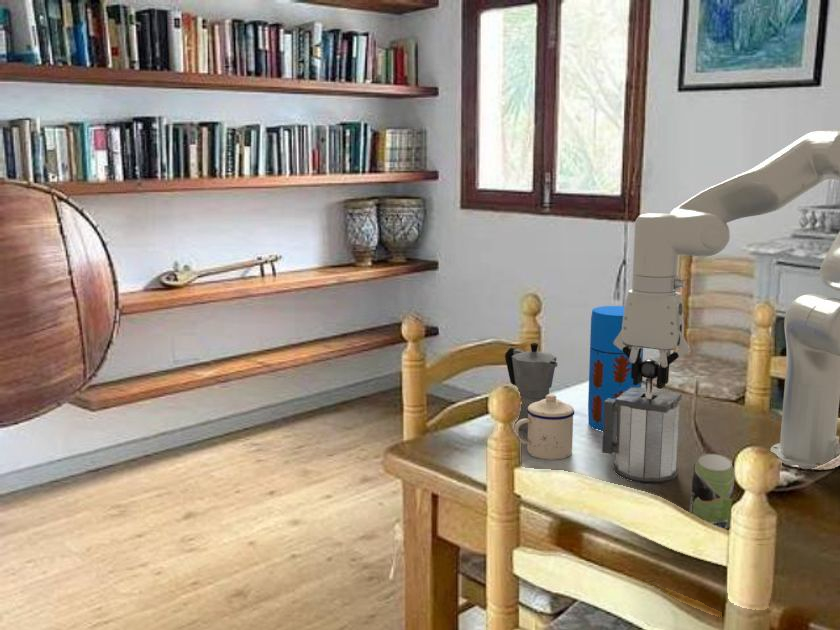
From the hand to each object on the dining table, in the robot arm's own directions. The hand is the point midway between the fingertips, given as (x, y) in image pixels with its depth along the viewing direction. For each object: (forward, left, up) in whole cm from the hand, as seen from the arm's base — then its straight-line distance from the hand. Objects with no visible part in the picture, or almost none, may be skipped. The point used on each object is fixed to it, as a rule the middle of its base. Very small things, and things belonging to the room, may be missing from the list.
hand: (649, 384), depth 152 cm
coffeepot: (+30, -14, -17) cm, 37 cm away
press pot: (+1, 0, -17) cm, 17 cm away
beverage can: (-16, +18, -17) cm, 29 cm away
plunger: (0, 0, -13) cm, 13 cm away
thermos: (+14, -22, -17) cm, 31 cm away
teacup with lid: (+20, +1, -17) cm, 26 cm away
